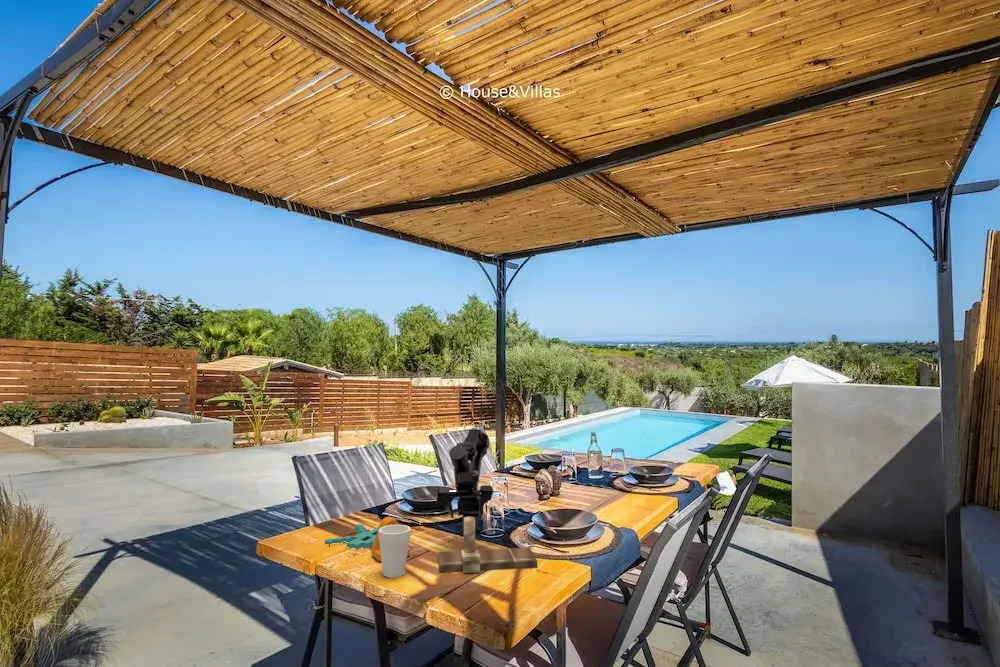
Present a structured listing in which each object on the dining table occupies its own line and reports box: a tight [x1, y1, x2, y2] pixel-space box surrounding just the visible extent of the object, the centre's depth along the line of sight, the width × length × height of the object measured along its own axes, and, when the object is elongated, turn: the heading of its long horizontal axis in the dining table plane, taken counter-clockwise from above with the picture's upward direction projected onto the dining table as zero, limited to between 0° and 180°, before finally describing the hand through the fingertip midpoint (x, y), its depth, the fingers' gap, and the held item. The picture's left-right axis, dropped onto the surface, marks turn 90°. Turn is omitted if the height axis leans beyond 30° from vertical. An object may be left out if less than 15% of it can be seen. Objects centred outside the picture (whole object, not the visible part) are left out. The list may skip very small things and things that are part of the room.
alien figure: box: [324, 523, 379, 550], centre depth 189 cm, size 20×2×20 cm
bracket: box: [370, 516, 411, 562], centre depth 172 cm, size 11×7×12 cm, turn 122°
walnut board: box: [437, 547, 538, 573], centre depth 167 cm, size 30×12×2 cm, turn 98°
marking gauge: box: [460, 517, 481, 574], centre depth 164 cm, size 5×10×14 cm, turn 8°
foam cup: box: [378, 524, 412, 578], centre depth 159 cm, size 10×9×13 cm
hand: (466, 516), depth 173 cm, fingers open, 9 cm apart
